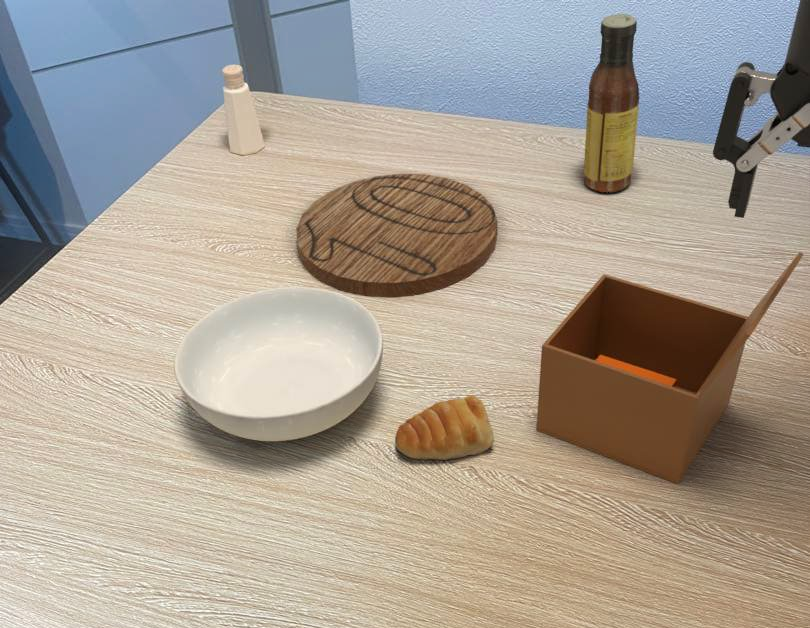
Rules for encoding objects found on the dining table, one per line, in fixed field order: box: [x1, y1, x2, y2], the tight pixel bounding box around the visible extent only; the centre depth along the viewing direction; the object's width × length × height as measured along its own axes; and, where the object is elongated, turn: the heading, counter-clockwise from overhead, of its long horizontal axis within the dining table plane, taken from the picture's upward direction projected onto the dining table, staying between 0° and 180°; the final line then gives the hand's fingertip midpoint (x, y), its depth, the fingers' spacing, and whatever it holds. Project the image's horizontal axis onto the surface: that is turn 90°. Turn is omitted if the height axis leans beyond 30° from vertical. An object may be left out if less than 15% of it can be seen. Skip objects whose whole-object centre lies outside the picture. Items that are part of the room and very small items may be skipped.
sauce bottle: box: [583, 13, 640, 194], centre depth 113 cm, size 7×6×20 cm
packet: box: [595, 355, 676, 387], centre depth 89 cm, size 8×5×4 cm, turn 57°
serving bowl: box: [173, 286, 384, 442], centre depth 93 cm, size 21×21×7 cm
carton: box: [535, 273, 749, 485], centre depth 87 cm, size 15×13×10 cm
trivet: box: [295, 173, 498, 298], centre depth 114 cm, size 25×25×2 cm
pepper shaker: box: [221, 64, 266, 156], centre depth 129 cm, size 5×5×11 cm
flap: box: [699, 251, 804, 393], centre depth 77 cm, size 7×13×1 cm
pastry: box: [394, 394, 495, 461], centre depth 89 cm, size 9×7×4 cm
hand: (799, 221), depth 69 cm, fingers open, 8 cm apart
